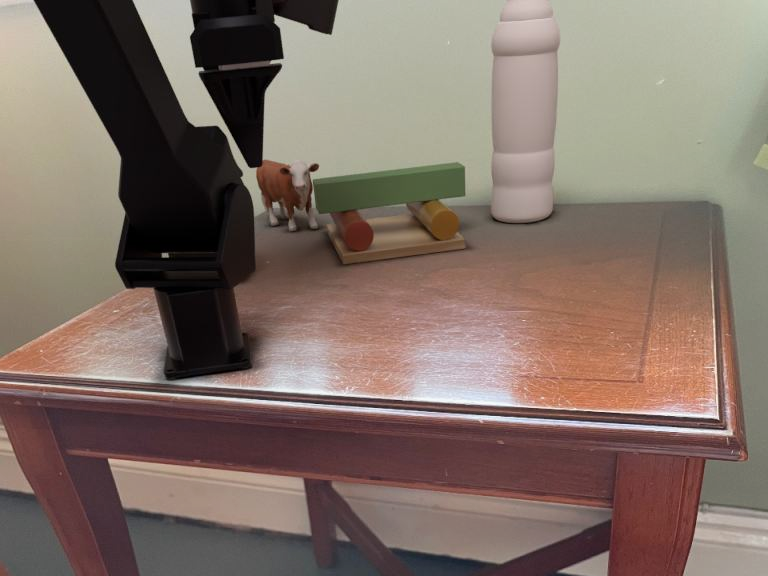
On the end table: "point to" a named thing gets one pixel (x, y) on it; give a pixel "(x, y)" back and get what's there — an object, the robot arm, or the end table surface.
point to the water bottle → (524, 111)
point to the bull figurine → (287, 189)
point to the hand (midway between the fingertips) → (253, 158)
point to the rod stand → (395, 233)
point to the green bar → (389, 187)
